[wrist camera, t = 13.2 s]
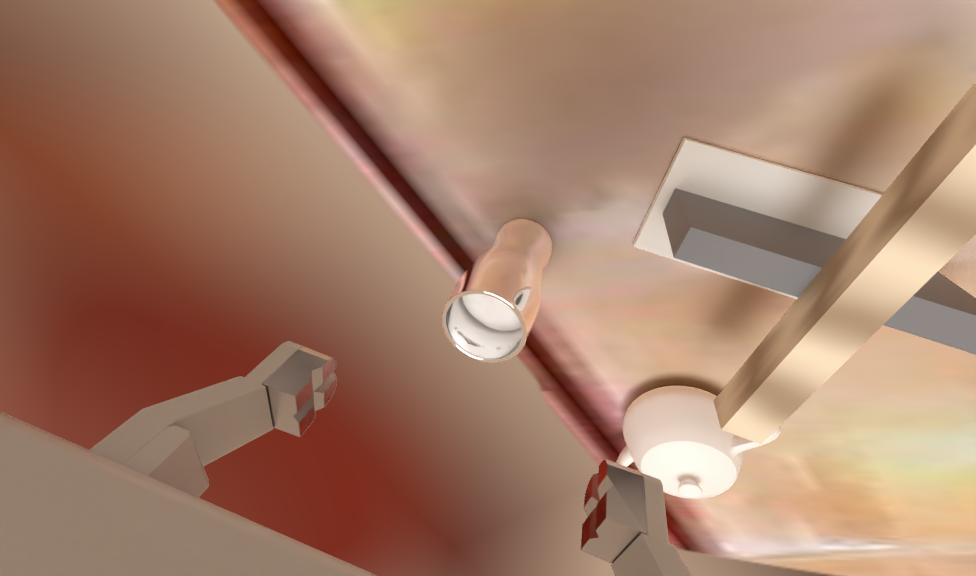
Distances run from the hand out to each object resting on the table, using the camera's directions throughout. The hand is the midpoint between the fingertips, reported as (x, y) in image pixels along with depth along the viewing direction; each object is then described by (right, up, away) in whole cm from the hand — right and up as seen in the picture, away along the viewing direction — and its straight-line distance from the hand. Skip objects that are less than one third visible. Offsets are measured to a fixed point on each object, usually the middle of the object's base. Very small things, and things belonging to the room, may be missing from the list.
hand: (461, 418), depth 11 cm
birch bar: (+23, +4, +14) cm, 28 cm away
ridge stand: (+26, +9, +23) cm, 36 cm away
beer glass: (+5, +8, +30) cm, 32 cm away
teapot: (+23, -11, +36) cm, 44 cm away
